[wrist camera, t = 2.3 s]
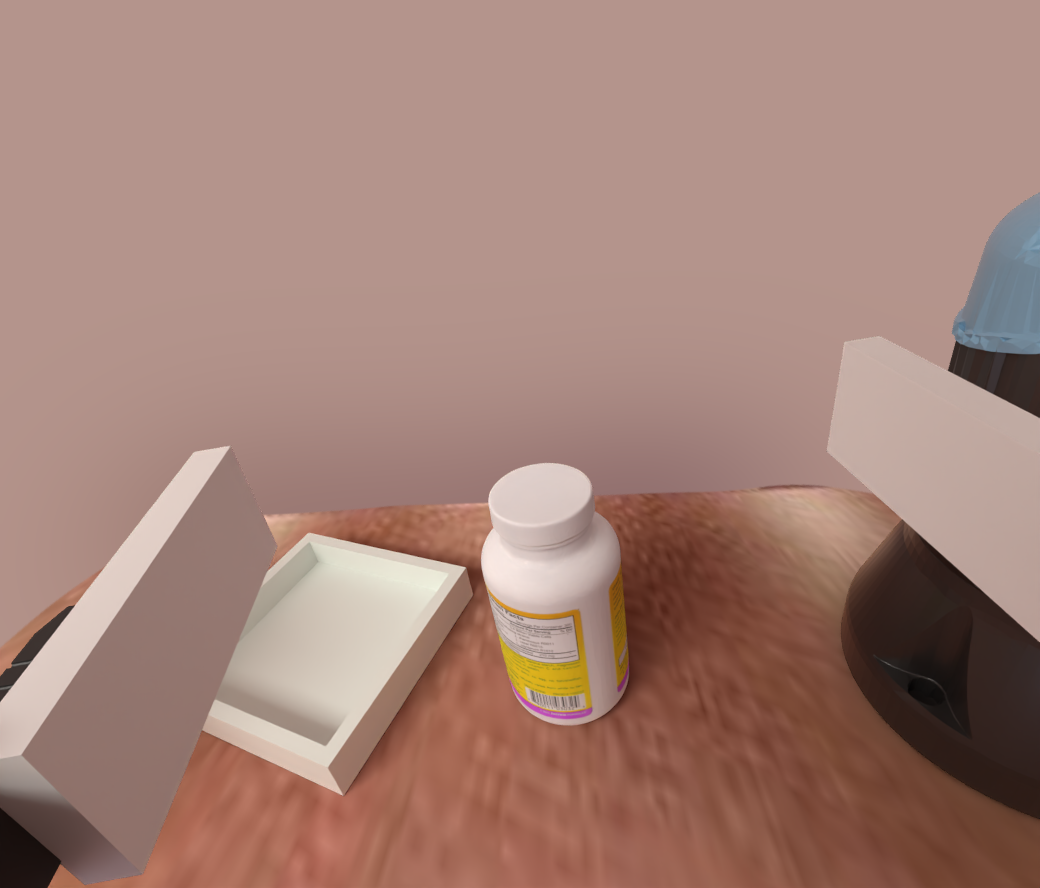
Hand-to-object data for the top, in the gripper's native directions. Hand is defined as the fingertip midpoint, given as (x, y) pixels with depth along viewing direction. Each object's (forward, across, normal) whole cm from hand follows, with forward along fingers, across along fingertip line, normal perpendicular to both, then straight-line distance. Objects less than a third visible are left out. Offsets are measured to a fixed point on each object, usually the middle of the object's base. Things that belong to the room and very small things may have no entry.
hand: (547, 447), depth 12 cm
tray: (+15, -14, -21) cm, 29 cm away
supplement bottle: (+10, 0, -21) cm, 23 cm away
